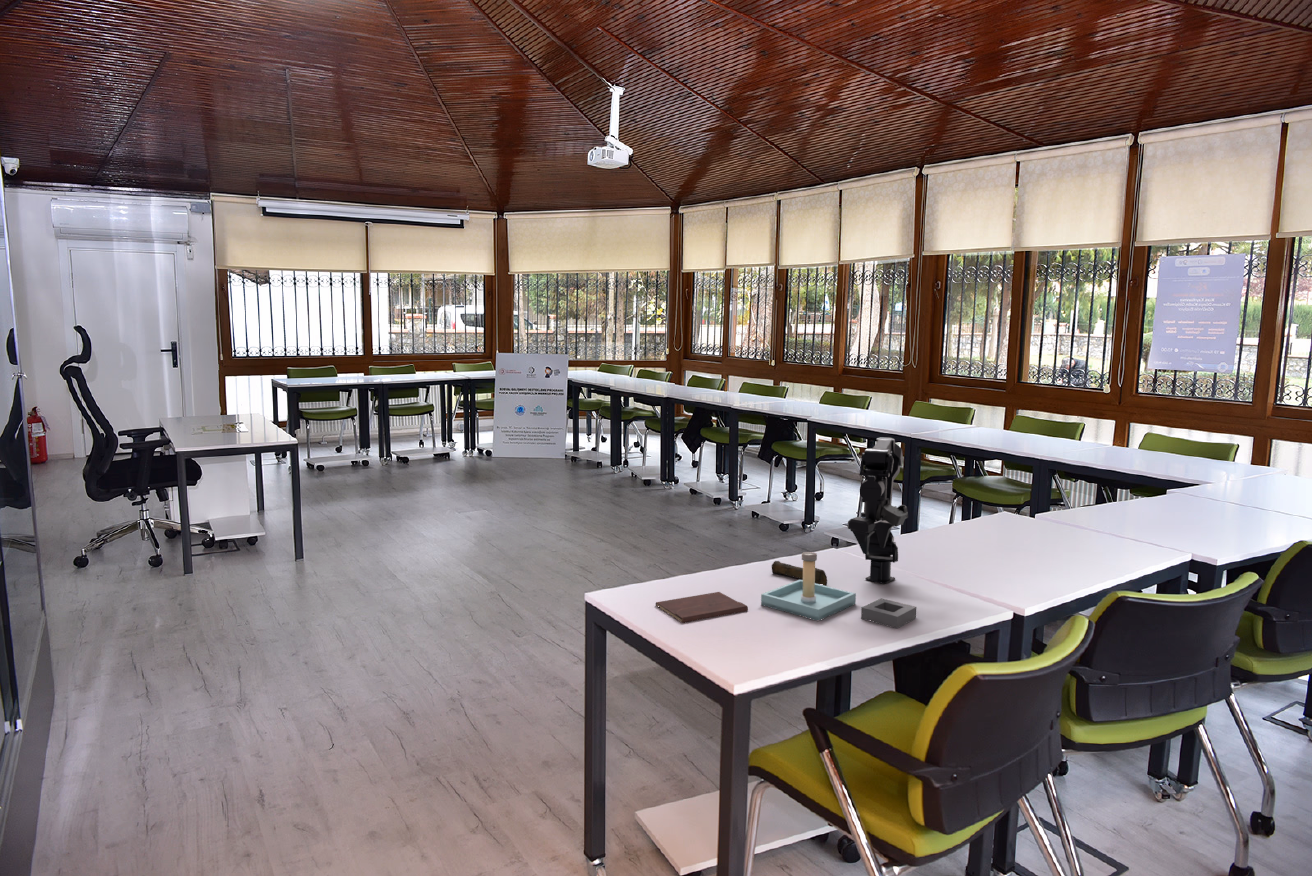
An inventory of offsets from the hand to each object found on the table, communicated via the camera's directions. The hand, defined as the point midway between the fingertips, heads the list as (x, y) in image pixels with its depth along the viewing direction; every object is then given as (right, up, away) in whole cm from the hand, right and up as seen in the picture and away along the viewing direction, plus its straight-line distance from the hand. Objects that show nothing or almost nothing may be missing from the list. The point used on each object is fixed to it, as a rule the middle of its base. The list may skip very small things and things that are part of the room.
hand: (873, 550), depth 228 cm
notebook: (-48, -15, -7) cm, 51 cm away
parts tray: (-19, -14, -5) cm, 24 cm away
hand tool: (-17, -11, +19) cm, 27 cm away
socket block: (0, -15, -16) cm, 22 cm away
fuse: (-19, -13, -5) cm, 23 cm away
